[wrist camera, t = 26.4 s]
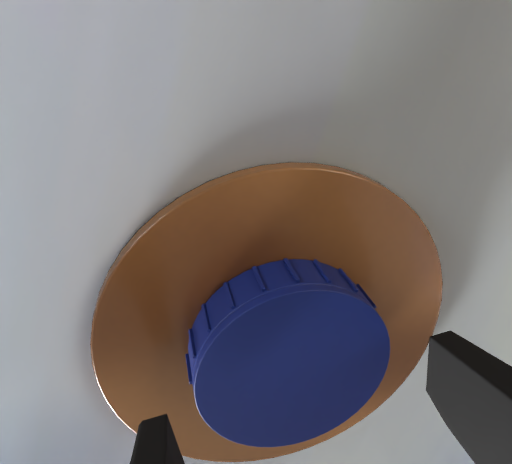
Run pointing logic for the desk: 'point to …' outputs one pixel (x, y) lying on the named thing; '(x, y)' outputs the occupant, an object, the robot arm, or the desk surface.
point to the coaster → (244, 258)
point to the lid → (285, 353)
